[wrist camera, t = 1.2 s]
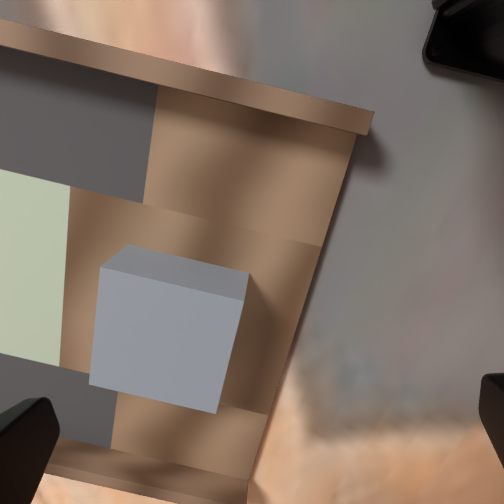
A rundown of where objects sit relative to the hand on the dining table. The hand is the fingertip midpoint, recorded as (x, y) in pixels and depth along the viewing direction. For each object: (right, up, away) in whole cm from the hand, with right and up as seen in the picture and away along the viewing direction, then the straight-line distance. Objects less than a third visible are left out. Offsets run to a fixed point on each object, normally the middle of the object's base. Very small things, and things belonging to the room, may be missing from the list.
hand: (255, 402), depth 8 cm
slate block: (-4, 0, +14) cm, 15 cm away
